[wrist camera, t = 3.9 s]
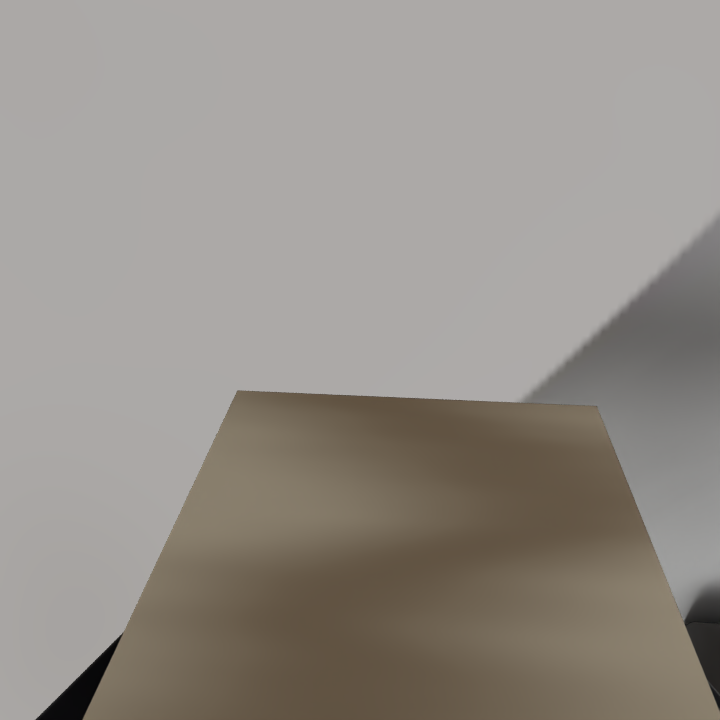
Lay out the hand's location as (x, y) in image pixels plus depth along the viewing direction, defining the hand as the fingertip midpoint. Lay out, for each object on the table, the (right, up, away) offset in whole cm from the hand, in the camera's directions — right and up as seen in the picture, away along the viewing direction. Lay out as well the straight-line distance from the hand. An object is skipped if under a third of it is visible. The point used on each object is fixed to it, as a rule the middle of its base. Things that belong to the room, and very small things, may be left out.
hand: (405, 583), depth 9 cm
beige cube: (0, +1, +1) cm, 1 cm away
